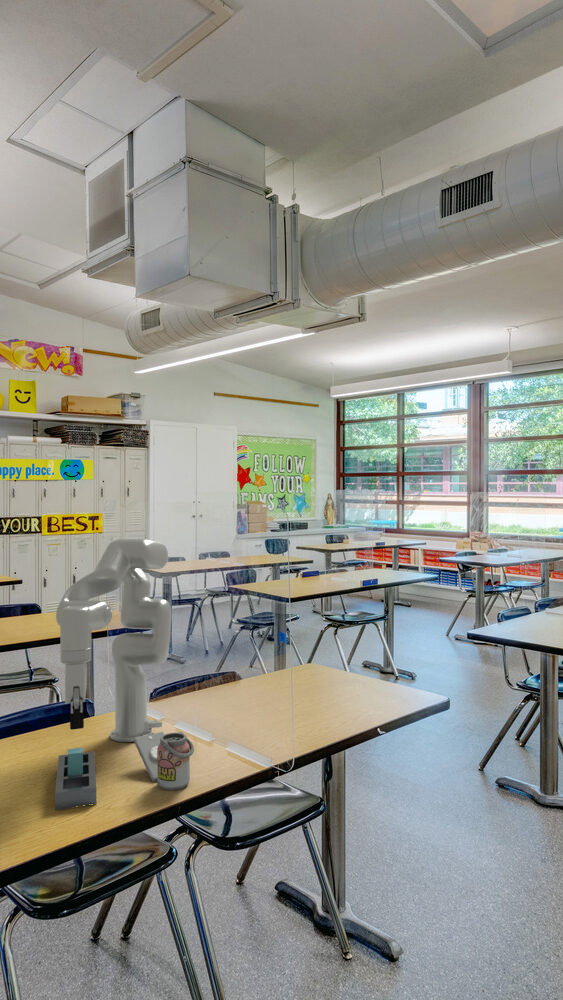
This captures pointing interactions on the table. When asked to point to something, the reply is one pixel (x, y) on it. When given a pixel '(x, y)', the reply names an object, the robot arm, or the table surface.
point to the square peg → (75, 761)
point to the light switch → (149, 752)
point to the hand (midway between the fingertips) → (77, 721)
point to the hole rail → (75, 783)
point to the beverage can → (174, 761)
